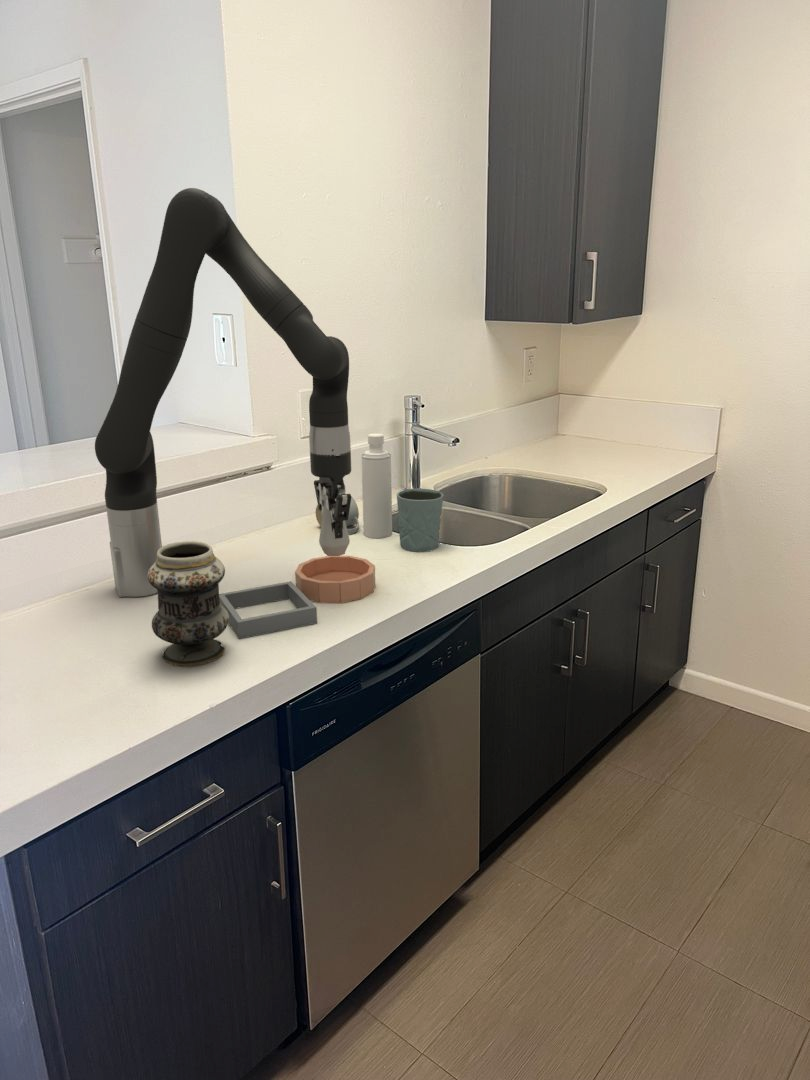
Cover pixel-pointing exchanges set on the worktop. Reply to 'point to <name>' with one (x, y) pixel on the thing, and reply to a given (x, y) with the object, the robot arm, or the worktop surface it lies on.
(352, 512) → the ceramic mug
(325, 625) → the worktop surface
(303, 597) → the tray
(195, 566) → the apothecary jar
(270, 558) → the worktop surface
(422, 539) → the drinking glass
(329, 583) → the terracotta bowl
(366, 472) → the grey bottle
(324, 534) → the salt shaker
